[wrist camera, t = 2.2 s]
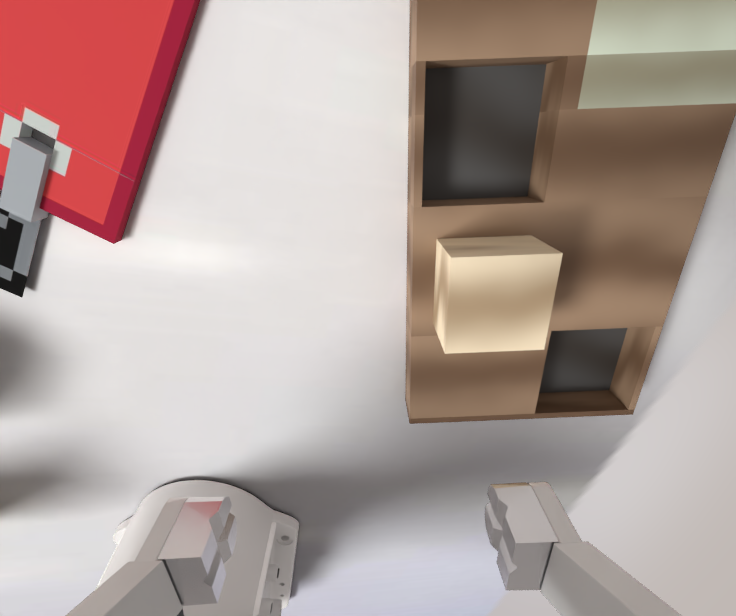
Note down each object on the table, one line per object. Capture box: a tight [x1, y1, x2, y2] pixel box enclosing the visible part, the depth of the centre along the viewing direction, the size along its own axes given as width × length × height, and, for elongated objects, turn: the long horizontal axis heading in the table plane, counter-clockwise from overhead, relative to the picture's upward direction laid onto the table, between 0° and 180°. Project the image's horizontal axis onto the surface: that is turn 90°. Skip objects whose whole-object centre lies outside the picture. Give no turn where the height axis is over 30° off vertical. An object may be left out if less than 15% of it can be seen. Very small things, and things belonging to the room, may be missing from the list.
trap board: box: [405, 0, 736, 424], centre depth 25 cm, size 30×18×3 cm, turn 2°
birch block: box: [433, 235, 563, 354], centre depth 23 cm, size 6×6×4 cm
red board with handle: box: [0, 0, 200, 297], centre depth 21 cm, size 30×3×15 cm
